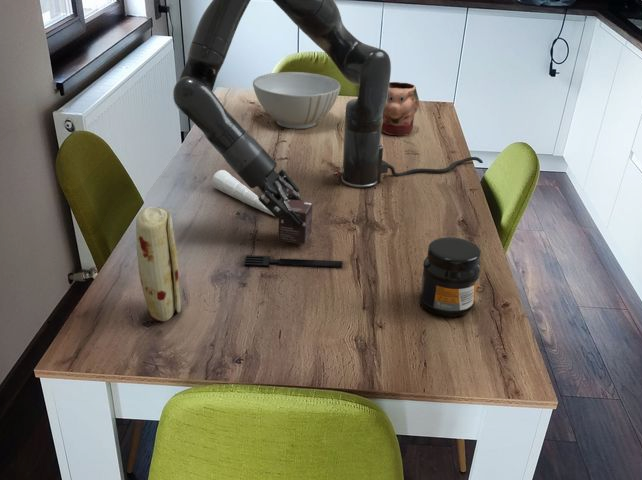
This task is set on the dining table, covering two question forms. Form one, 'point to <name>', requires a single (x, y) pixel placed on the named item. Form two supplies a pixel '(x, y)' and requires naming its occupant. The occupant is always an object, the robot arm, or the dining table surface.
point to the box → (301, 233)
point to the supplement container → (450, 276)
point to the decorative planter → (400, 108)
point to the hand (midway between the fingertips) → (303, 219)
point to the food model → (158, 262)
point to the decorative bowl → (296, 97)
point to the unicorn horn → (237, 190)
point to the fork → (289, 262)
